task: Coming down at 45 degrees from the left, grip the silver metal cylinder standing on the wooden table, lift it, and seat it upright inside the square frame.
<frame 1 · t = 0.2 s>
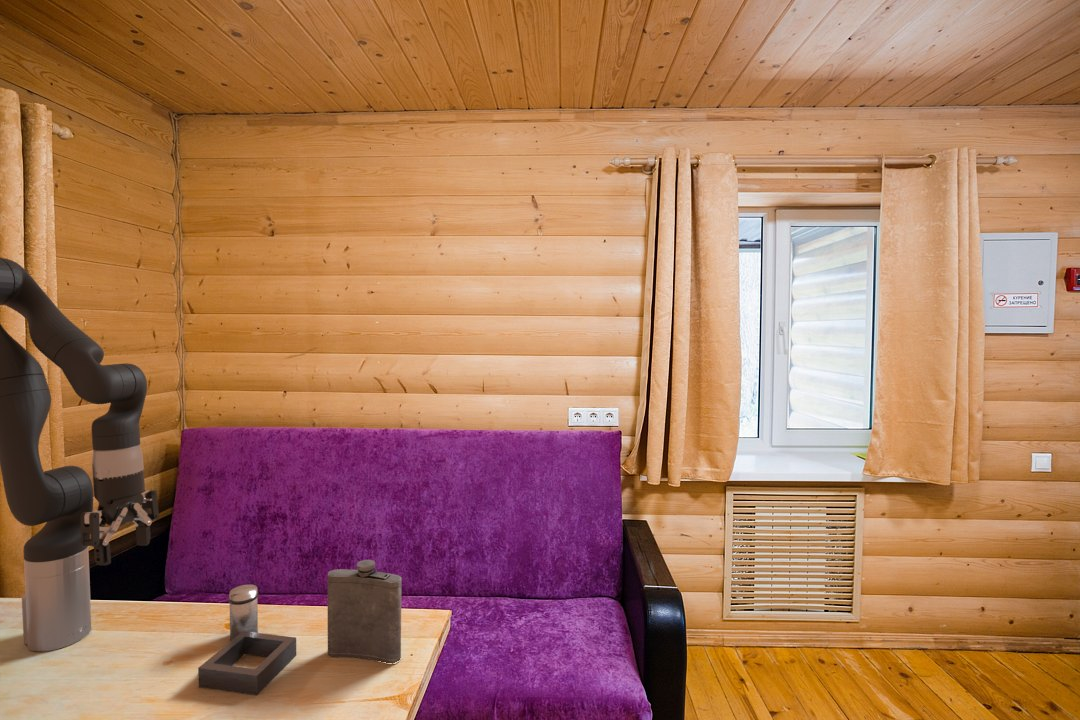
hand: (124, 554, 101), 18 cm above the table, tool pointing down, fingers open, 8 cm apart
square frame: (249, 670, 96), on the table
silver metal cylinder: (244, 636, 106), on the table
flask: (365, 656, 101), on the table
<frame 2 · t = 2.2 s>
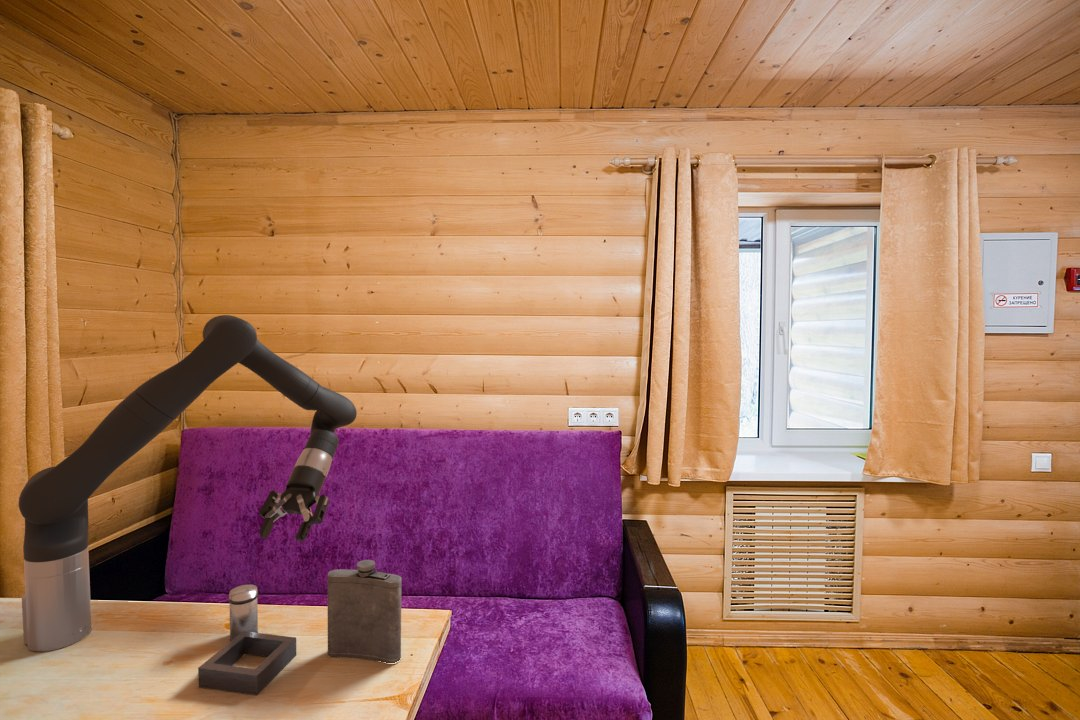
hand: (280, 538, 116), 15 cm above the table, tool tilted 45°, fingers open, 8 cm apart
nothing on the table moved.
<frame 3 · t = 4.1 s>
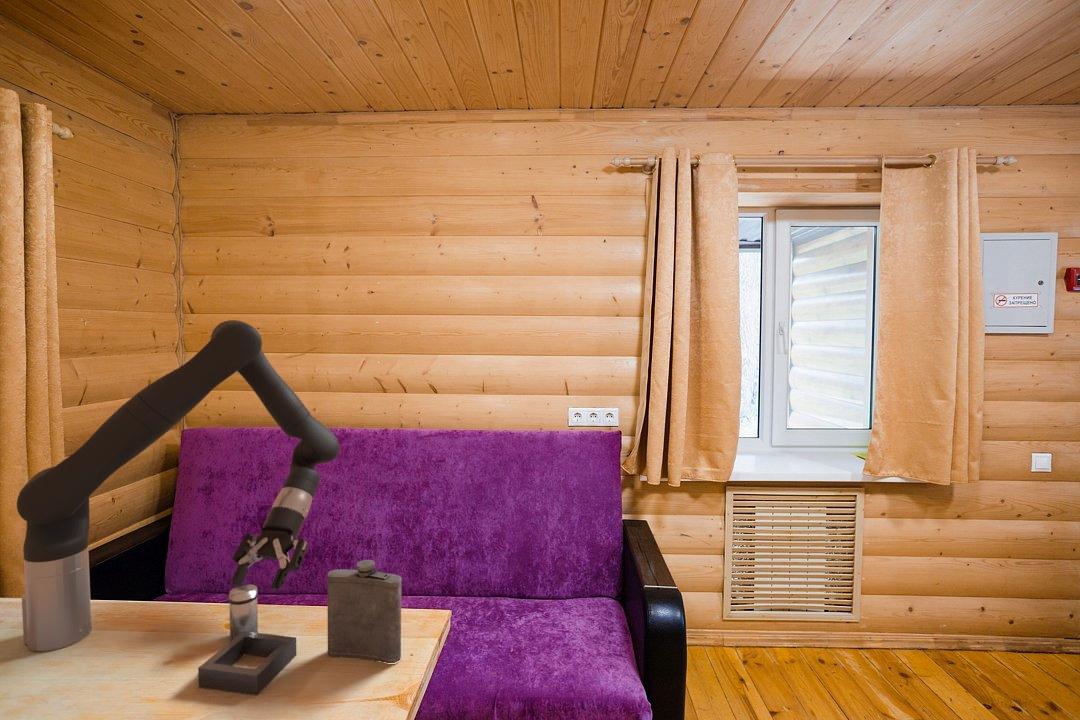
hand: (255, 587, 109), 8 cm above the table, tool tilted 45°, fingers open, 8 cm apart
nothing on the table moved.
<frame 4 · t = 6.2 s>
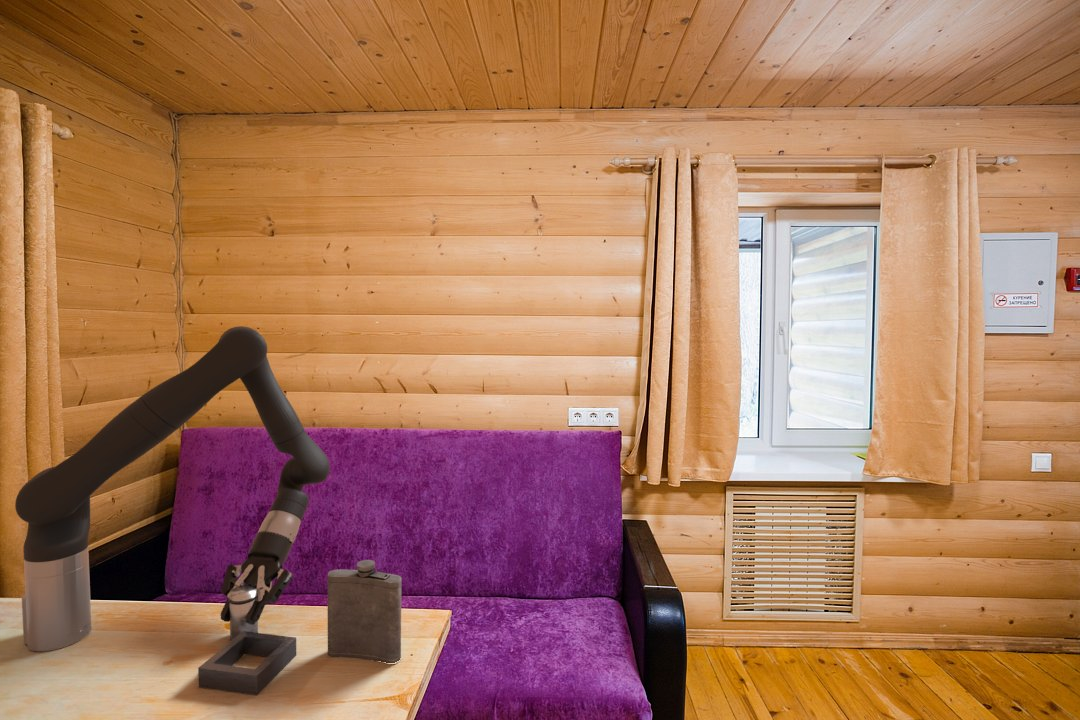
hand: (237, 621, 104), 4 cm above the table, tool tilted 45°, fingers closed on silver metal cylinder, 4 cm apart
silver metal cylinder: (244, 636, 106), on the table, touching gripper
everything else where it was.
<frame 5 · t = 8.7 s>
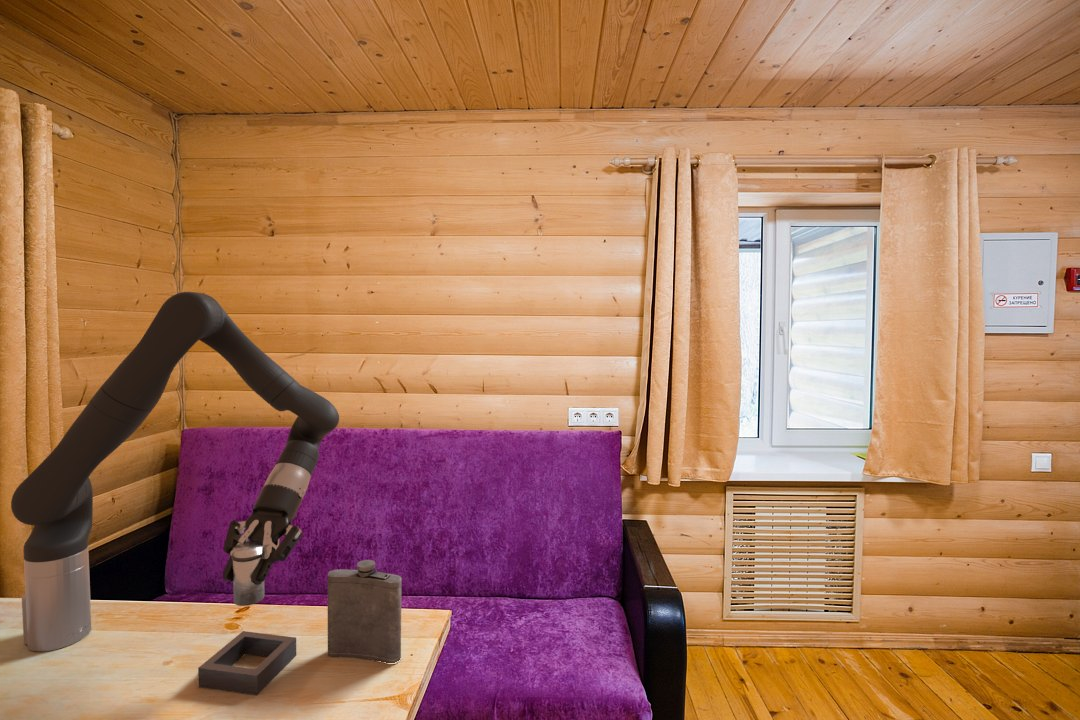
hand: (241, 581, 93), 17 cm above the table, tool tilted 45°, fingers closed on silver metal cylinder, 4 cm apart
silver metal cylinder: (249, 598, 95), point 13 cm above the table, touching gripper
everything else where it was.
when the fingers open (6 cm above the table, at t = 11.2 s): silver metal cylinder drops 1 cm, resting in square frame.
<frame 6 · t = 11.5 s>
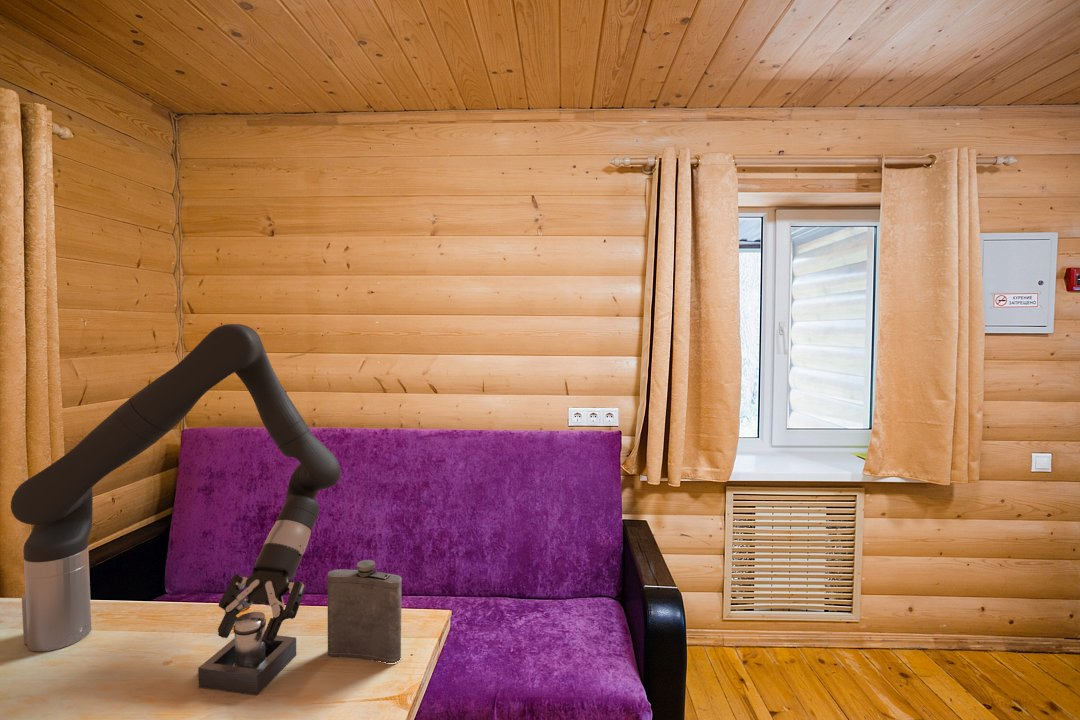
hand: (244, 639, 94), 7 cm above the table, tool tilted 45°, fingers open, 8 cm apart
silver metal cylinder: (250, 669, 96), resting in square frame
everything else where it was.
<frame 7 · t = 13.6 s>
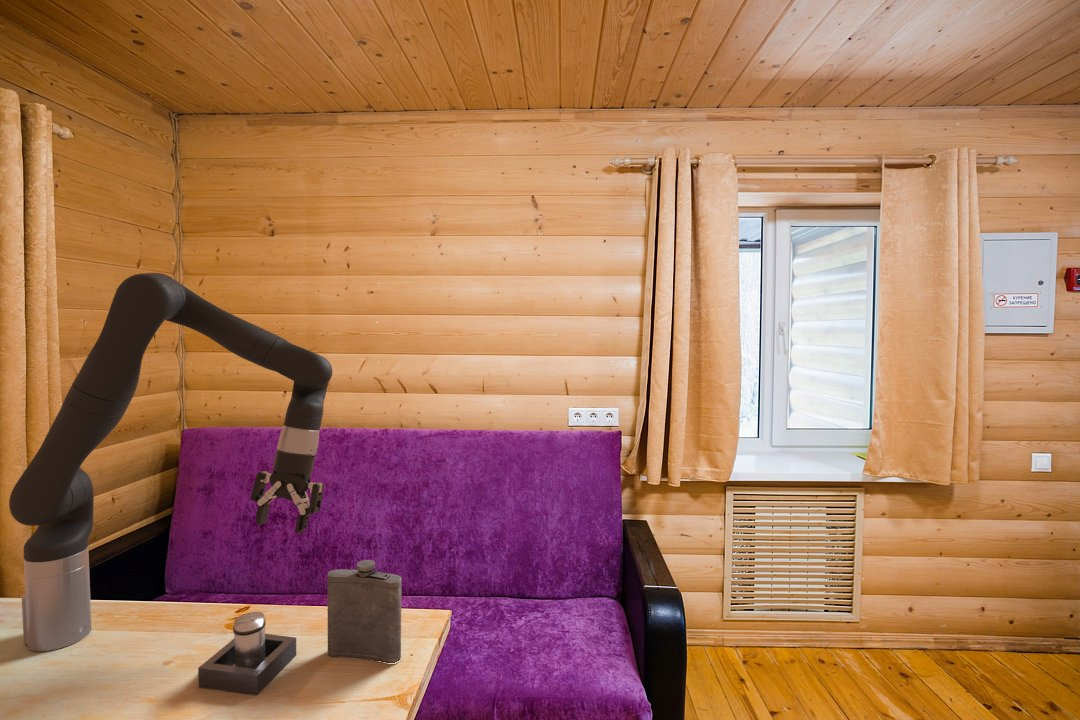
hand: (280, 528, 109), 20 cm above the table, tool pointing down, fingers open, 8 cm apart
nothing on the table moved.
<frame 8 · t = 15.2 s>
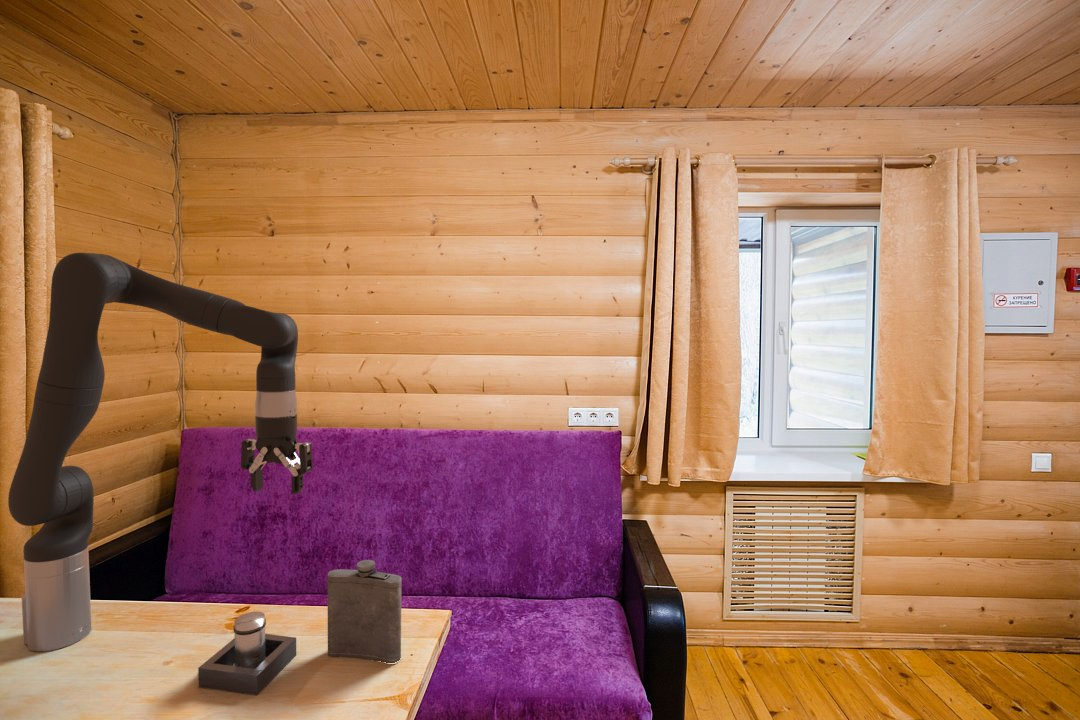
hand: (277, 491, 108), 28 cm above the table, tool pointing down, fingers open, 8 cm apart
nothing on the table moved.
at the end: silver metal cylinder 0.3 cm off-centre on the square frame, point 0.0 cm above the square frame's base; silver metal cylinder tilted 1°; the gripper is holding nothing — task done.
